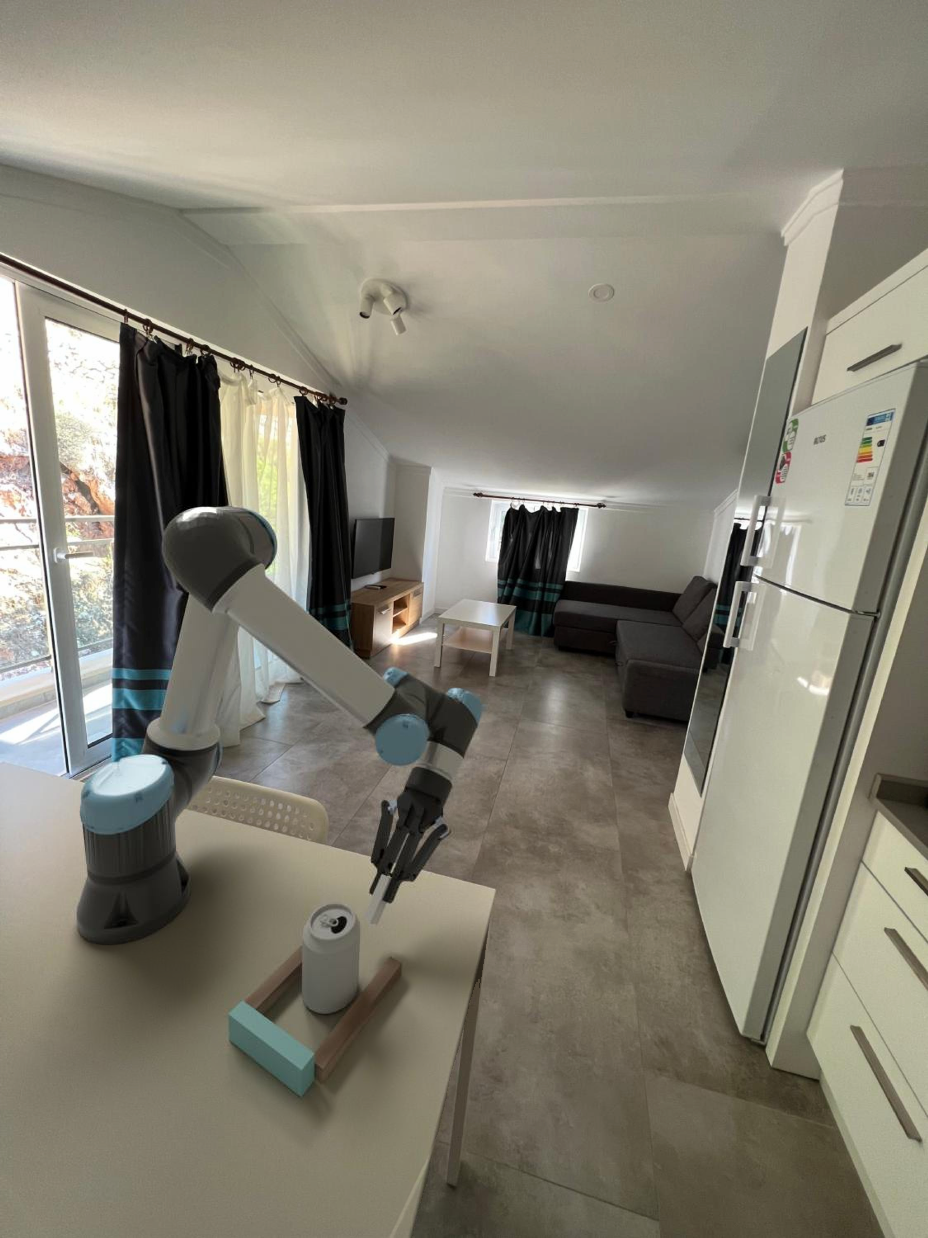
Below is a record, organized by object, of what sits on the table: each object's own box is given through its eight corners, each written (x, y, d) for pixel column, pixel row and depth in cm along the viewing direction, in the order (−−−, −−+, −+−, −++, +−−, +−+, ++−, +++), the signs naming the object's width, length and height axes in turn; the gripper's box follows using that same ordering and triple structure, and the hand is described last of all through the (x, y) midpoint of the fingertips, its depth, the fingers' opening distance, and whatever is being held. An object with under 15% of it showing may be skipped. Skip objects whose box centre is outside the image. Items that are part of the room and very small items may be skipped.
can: (343, 1026, 64) (346, 949, 62) (290, 1010, 66) (291, 935, 63) (366, 974, 71) (369, 904, 69) (318, 961, 73) (319, 892, 70)
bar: (229, 1040, 61) (228, 1014, 60) (242, 1025, 63) (242, 1000, 62) (301, 1097, 56) (301, 1070, 55) (314, 1080, 58) (314, 1053, 57)
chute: (239, 1021, 64) (239, 1006, 63) (327, 932, 78) (327, 920, 77) (322, 1085, 58) (322, 1069, 57) (401, 976, 72) (402, 963, 71)
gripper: (473, 793, 86) (414, 944, 75) (409, 770, 91) (346, 907, 80) (461, 779, 80) (396, 940, 69) (394, 755, 86) (324, 901, 75)
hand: (369, 922), depth 75 cm, fingers closed
